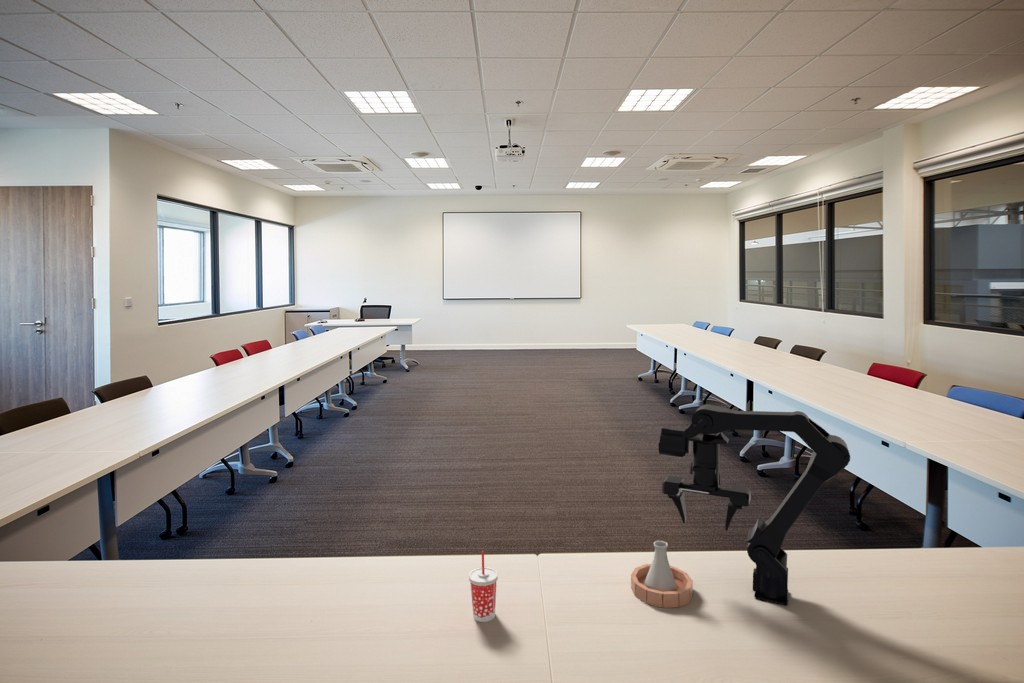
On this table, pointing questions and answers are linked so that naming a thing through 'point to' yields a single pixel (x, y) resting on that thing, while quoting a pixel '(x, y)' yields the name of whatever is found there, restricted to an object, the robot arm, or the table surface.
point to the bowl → (659, 597)
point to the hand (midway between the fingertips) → (705, 526)
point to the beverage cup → (483, 592)
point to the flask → (660, 570)
